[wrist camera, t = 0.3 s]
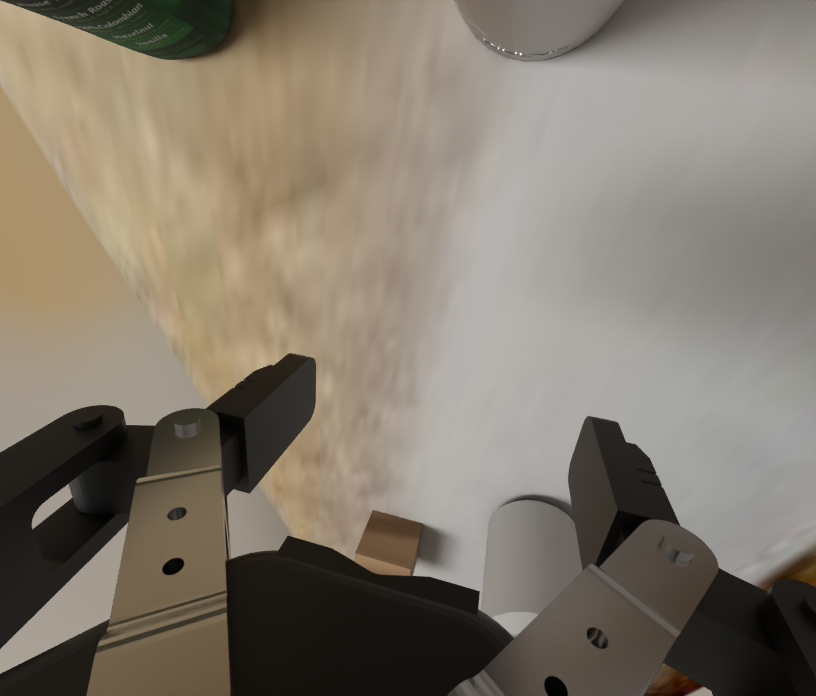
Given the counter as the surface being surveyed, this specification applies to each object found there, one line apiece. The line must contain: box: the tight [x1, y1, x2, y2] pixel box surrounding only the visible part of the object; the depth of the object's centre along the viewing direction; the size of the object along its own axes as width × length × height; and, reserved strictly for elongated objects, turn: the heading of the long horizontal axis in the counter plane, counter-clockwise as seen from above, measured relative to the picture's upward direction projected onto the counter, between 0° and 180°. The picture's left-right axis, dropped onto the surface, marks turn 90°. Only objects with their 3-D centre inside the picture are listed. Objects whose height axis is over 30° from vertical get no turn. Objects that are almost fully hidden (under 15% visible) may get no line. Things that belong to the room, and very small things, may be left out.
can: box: [481, 500, 582, 638], centre depth 31 cm, size 8×8×12 cm
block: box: [355, 510, 423, 576], centre depth 39 cm, size 5×5×5 cm
